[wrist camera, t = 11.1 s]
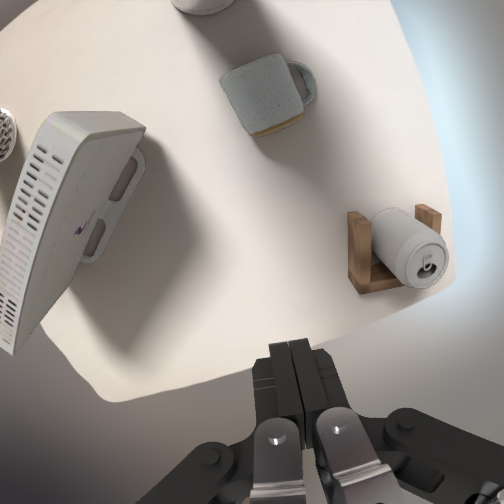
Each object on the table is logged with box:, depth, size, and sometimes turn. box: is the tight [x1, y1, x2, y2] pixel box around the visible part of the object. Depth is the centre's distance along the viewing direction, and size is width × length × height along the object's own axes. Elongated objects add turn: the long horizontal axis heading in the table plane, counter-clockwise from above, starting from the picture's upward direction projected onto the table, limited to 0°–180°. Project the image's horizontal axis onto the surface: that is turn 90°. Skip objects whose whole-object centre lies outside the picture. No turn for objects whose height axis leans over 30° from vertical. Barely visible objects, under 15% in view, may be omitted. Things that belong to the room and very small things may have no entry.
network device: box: [0, 111, 146, 356], centre depth 31 cm, size 26×9×20 cm, turn 145°
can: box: [371, 208, 449, 289], centre depth 38 cm, size 8×8×12 cm
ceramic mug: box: [219, 53, 316, 137], centre depth 32 cm, size 11×8×8 cm
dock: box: [347, 204, 442, 294], centre depth 42 cm, size 10×12×5 cm
